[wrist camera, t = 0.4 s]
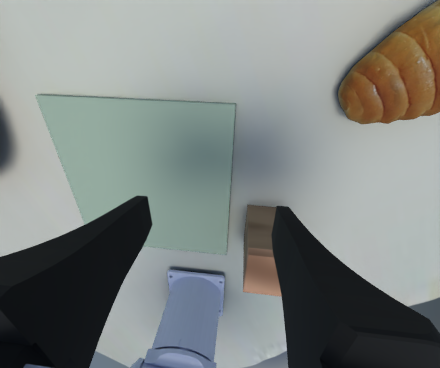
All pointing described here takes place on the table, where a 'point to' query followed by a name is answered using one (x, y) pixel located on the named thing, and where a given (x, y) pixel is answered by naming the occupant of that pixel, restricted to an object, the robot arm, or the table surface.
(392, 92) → the pastry
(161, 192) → the sage mat
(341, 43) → the table surface
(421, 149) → the table surface
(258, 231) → the walnut block
